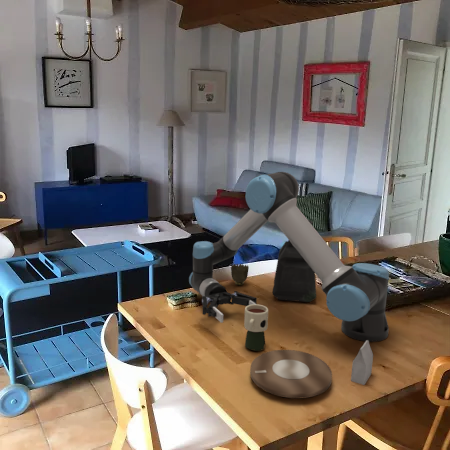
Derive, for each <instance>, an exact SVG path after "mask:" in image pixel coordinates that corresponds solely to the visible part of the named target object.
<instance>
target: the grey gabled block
mask: <svg viewBox="0 0 450 450" xmlns="http://www.w3.org/2000/svg"><path fill="white" fill-rule="evenodd" d="M373 358H374V354H373V351H372V348H371V346H370V342H369V341H367V340H366V341H364V343H363V345H362V346H361V347H360V349H359V351H358V353H357V355H356V356H355V358H354V359H353V360H352V365H351V366H352V367H351V375H350V376H351V377H350V381H351V382H353V383H356V384H359V385H363V386H365V385H366V383H367V382H368V380H369V378H370V377H371V375H372V371H373V370H372V369H373V360H374V359H373Z"/></svg>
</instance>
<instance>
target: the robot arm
mask: <svg viewBox="0 0 450 450" xmlns="http://www.w3.org/2000/svg"><path fill="white" fill-rule="evenodd" d="M299 191H300V187H299V182H298V180H297V179H296V177H295V176H293V175H292V174H291V173H289V172H286V171H278V172H273V173H269V174H260V175H259V176H256V177H253V179H251V180H250V181H249V182H248V184H247V186H246V188H245V202H246V204H247V206H248V208H249V210H248V211H247V212H246V213H245V214H244V215H243V216H242V217H241V218H240V219H239V220H237V221H238V222H236V224H234V225H233V226H232V227H231V228H230V229H229V230H228V231H227V232H226V233H225V234H224V235H223V237H221V238H220V239H219V240H218V241H217V242H214V243H213V242H210V241H207V240H204V241H203V240H202V241H196V242H195V243H194V244H193V246H192V247H193V248H192V272H191V273H190V274H189V277H188V282H189V285H190V286H191V287H192V289H193V290H194V291H196V292H197V293H198V294H199V295H201V305H202V310H201V311H202V312H201V313H202V315H203V316H205V315H207V314H208V315H207V317H209V318H210V317H212V318H215V319H217V320H218V322H219V323H224V314H223V312H221V311H220V310H219V309H218V307H219V306H222V305H240V306H244V307H246V306H248V305H252V304H258V300H257V297H255V296H251V295H248V294H244V293H242V292H239V291H237V290H234V292H233V293H231V292H228V290H227V288H226V287H225V286H224V285H222V284H221V283H220V282H219V281H217V280H216V279H214V276H213V275H214V274H213V273H214V265H216V264H218V263H221V262H224V261H225V260H228V259H231V258H232V257H234V256H236V255H237V253H238V251H239V249H240V248H241V247H242V246H243V245H244V244H245V243H246V242H247V241H248V240H249V239H251V237H253V236H254V235H255V234H256V233H257V232H258V231H259V230H261V228H263V227H264V225H266V224H267V222H269V223H275V224H276V225H277V227H278V228H279V230H280V231H281V232H282V233H283V234H284V236H285V237H286V238H287V239H288V240H289V241H290V242H291V243H292V244H293V246H294V247H295V248H296V250H297V251H298V252H299V253H300V255H301V256H302V257H303V258H304V260H305V261H306V262H307V263H308V265H309V266H310V267H311V269H312V270H313V271H314V272H315V276H317V278H318V279H319V280H320V282H321V290H322V292H323V293H324V294H325V296H326V299H325V300H326V302H325V303H326V306H327V309H328V311H329V312H330V313H331V314H332V316H334V317H336V318H337V319H339V320H341V329H340V330H341V331H342V333H343V334H344V335H346V336H347V337H349V338H351V339H354V340H357V341H362V342H366V340H367V341H369V343H370V342H372V343H373V342H374V343H375V342H380V341H383V340H386V339H387V338H388V337H389V332H390V331H389V329H390V327H389V324H388V319H387V315H386V305H387V295H388V288H389V287H388V286H389V280H390V277H389V276H390V275H389V274H390V272H389V269H387V268H386V267H384V266H381V265H379V264H378V265H377V264H373V263H366V262H364V263H361V262H360V263H358V262H357V263H354V264H353V265H352V266H350V265H345V264H344V263H343V261H341V259H340V258H339V257H338V255H337V254H336V253H335V252H334V251H333V249H332V248H331V247H330V246H329V244H328V243H327V242H326V241H325V240H324V238H323V237H322V236H321V235H320V233H319V232H318V231H317V230H316V229H315V227H314V225H313V224H312V225H311V224H310V222H309V221H308V220H309V219H307V218H306V216H305V215H304V214H303V213H302V210H300V209H299V207H297V202H298V199H297V198H298V195H299ZM208 304H209V305H208Z"/></svg>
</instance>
